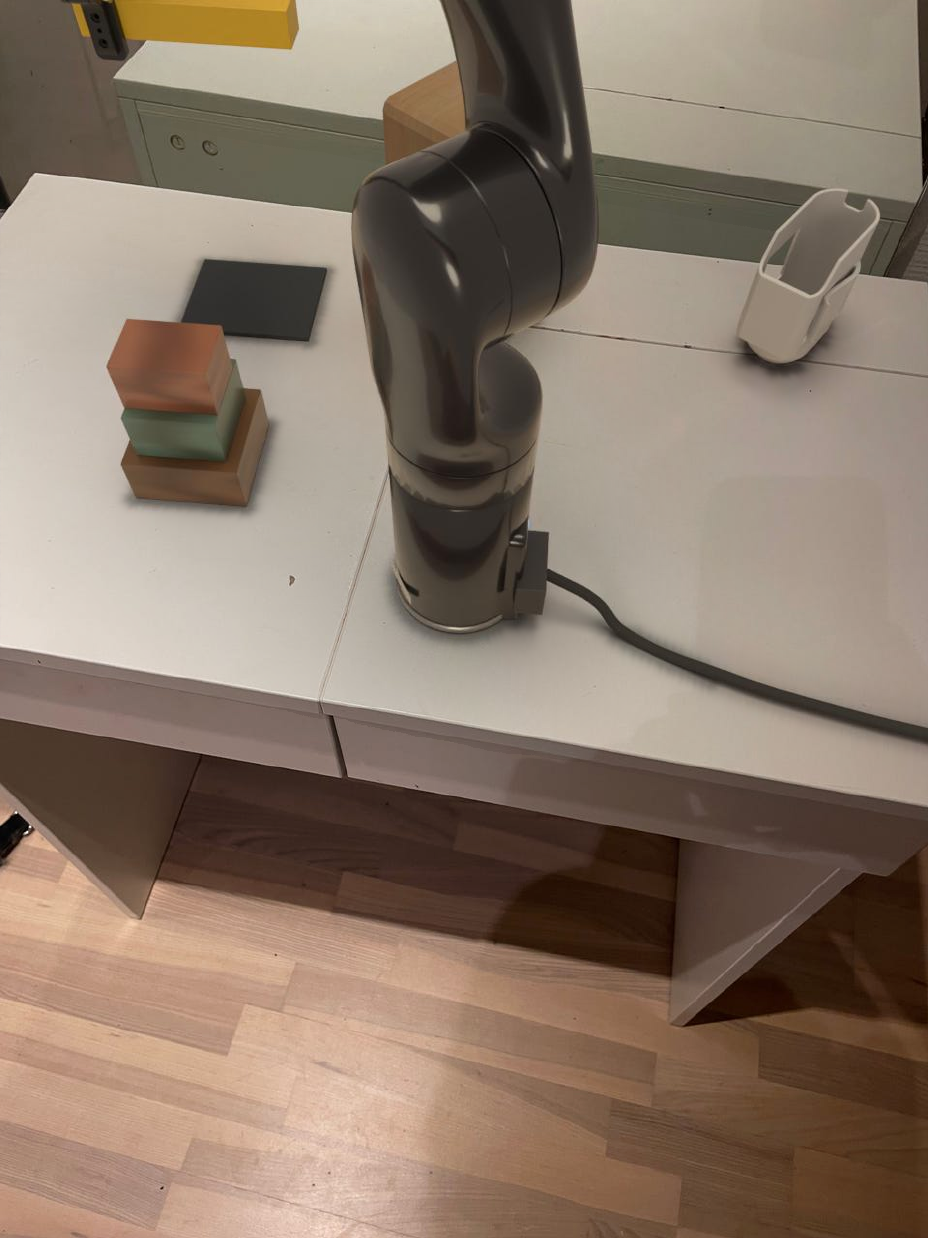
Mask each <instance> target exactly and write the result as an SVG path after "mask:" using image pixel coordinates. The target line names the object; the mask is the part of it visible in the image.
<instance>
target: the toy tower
mask: <svg viewBox="0 0 928 1238" xmlns="http://www.w3.org/2000/svg"><path fill="white" fill-rule="evenodd" d="M105 367H106V369H107V372H108V374H109V377H110V379H111V381H112V383H113V386H114V389H115V390H116V392H117V395H118V397H119V399H120V402H121V404H122V407H123V411H122V414H121V416H120V420H121V422H122V425H123V427H124V429H125V431H126V434H127V436H128V438H129V441H128V442H127V445H126V448H125V451H124V454H123V456H122V459H121V461H120V467H121V469H122V471H123V473H124V476H125V477H126V480H127V482H128V484H129V486H130V488H131V490H132V492H133V495H134V497H135V498H137V499H149V500H150V499H151V500H161V501H173V502H174V501H175V502H185V503H199V504H212V505H213V504H214V505H222V506H223V505H225V506H237V507H247V506H248V503H249V500H250V496H251V492H252V488H253V484H254V481H255V477H256V474H257V470H258V466H259V462H260V459H261V455H262V451H263V448H264V444H265V441H266V437H267V434H268V433H267V432H268V430H269V427H270V422H269V418H268V413H267V409H266V405H265V401H264V397H263V392H262V390H261V388H260V389H259V388H248V387H247V388H246V387H244V385H243V381H242V378H241V374H240V370H239V366H238V362H237V359H236V358H231V356H230V352H229V348H228V344H227V341H226V338H225V335H224V333H223V330H222V326H220V325H206V324H192V323H181V322H178V321H165V320H164V321H163V320H151V319H138V318H137V319H136V318H126V320H125V321H124V323H123V325H122V328H121V330H120V333H119V335H118V337H117V340H116V342H115V345H114V347H113V349H112V352H111V354H110V357H109V359H108V361H107V364H106V366H105Z"/></svg>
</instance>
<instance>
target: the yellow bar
mask: <svg viewBox="0 0 928 1238" xmlns="http://www.w3.org/2000/svg"><path fill="white" fill-rule="evenodd" d="M115 3H116V7H117V10H118V14H119V17H120V21H121V24H122V28H123V31H124V35H125V38H126V40H136V41H147V42H148V41H150V42H163V43H166V42H167V43H182V44H196V45H198V44H199V45H211V46H214V45H215V46H226V47H227V46H229V47H243V48H244V47H245V48H259V49H260V48H261V49H274V50H275V49H276V50H292V49H293V46H294V43H295V41H296V39H297V35H298V33H299V30H300V25H299V15H298V8H297V2H296V0H115ZM71 5H72V9H73V11H74V15H75V18H76V21H77V25H78V28H79V31H80V34H81V36H82V37H89V38H91V36H90V33H89V30H88V26H87V23H86V20H85V17H84V14H83V11H82V8H81V5H80V4H72V3H71Z"/></svg>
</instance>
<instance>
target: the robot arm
mask: <svg viewBox="0 0 928 1238" xmlns="http://www.w3.org/2000/svg"><path fill="white" fill-rule="evenodd" d="M438 1H439V4H440V6H441V9H442V12H443V15H444V18H445V22H446V24H447V29H448V33H449V35H450V40H451V43H452V49H453V51H454V56H455V61H457V66H458V71H459V76H460V82H461V87H462V94H463V103H464V111H465V132H463V133H461V134H458V135H456V136H454V137H451V138H449V139H447V140H444V141H442V142H439V143H437V144H435V145H432V146H430V147H428V148H425V149H423V150H420V151H418V152H416V153H413V154H412V155H409V156H407V157H404V158H402V159H400V160H397V161H395V162H392V163H390V164H388V165H386V164H385V165H383V166H382V167H379V168H378V169H376V170H374V171H373V172H371V173H370V174H368V175H366V177H365V178H364V180H362V181H361V183H360V185H359V187H358V189H357V190H356V191H357V192H356V194H355V197H354V199H353V204H352V205H353V206H352V210H351V220H350V221H351V222H350V231H351V232H350V234H351V248H352V256H353V257H352V258H353V263H354V271H355V276H356V282H357V289H358V293H359V301H360V305H361V312H362V317H363V324H364V330H365V337H366V346H367V352H368V358H369V364H370V370H371V374H372V377H373V381H374V385H375V387H376V390H377V394H378V397H379V400H380V404H381V407H382V411H383V419H384V420H383V421H384V428H385V430H384V431H385V441H386V452H387V454H386V455H387V464H388V465H387V467H388V475H389V476H388V477H389V478H388V479H389V491H390V503H391V505H390V506H391V512H392V513H391V515H392V528H393V543H394V552H395V553H394V554H395V564H394V562H393V561H392V558H390V557H389V559H390V567H391V569H392V572H393V574H394V575H395V578H396V581H395V582H396V588H397V593H398V597H399V599H400V601H401V602H402V605H403V606H404V607H405V609H406V610H407V611H408V612H409V614H411V616H412V617H414V618H415V619H416V620H417V621H418V622H421V623H423V625H425V626H427V627H429V628H432V629H435V630H437V631H441V632H446V633H454V634H466V633H473V632H478V631H481V630H484V629H486V628H490V627H491V626H493V625H495V624H497V623H498V622H500V621H501V620H516V619H517V618H518V614H526V615H539V616H542V615H543V613H544V606H545V601H546V595H547V588H548V587H547V585H548V582H549V583H550V584H552V585H555V586H557V587H559V588H560V589H562V590H565V591H567V592H569V593H571V594H573V595H575V596H576V597H579V598H580V599H582V600H583V601H585V602H587V603H588V604H589V605H590V606H592V607H593V608H595V610H596V611H598V613H599V614H600V615H601V617H602V618H603V619H604V621H605V623H606V624H607V625H608V627H609V628H610V629H611V630H612V631H613V632H614V633H615V634H617V635H618V636H620V637H621V638H623V639H624V640H625V641H627V642H629V643H630V644H631V645H633V646H635V647H637V648H638V649H640V650H642V651H645V652H646V653H648V654H650V655H653V656H654V657H657V658H659V659H661V660H663V661H665V662H668V663H671V664H673V665H676V666H679V667H682V668H684V669H686V670H690V671H693V672H695V673H699V674H701V675H704V676H707V677H709V678H712V679H715V680H718V681H720V682H723V683H725V684H728V685H731V686H734V687H736V688H739V689H742V690H745V691H748V692H751V693H754V694H757V695H760V696H762V697H766V698H769V699H772V700H775V701H779V702H782V703H786V704H789V705H792V706H796V707H799V708H803V709H806V710H810V711H813V712H817V713H820V714H823V715H824V714H825V715H828V716H831V717H834V718H839V719H843V720H846V721H849V722H853V723H857V724H861V725H864V726H869V727H873V728H876V729H881V730H884V731H888V732H892V733H897V734H901V735H905V736H909V737H913V738H918V739H921V740H927V741H928V727H926V726H922V725H918V724H913V723H910V722H904V721H901V720H897V719H896V720H895V719H892V718H887V717H884V716H880V715H876V714H872V713H868V712H864V711H860V710H857V709H853V708H849V707H845V706H842V705H839V704H835V703H832V702H827V701H824V700H821V699H816V698H813V697H809V696H806V695H802V694H799V693H795V692H792V691H788V690H785V689H781V688H778V687H775V686H771V685H769V684H765V683H764V682H759V681H756V680H754V679H751V678H748V677H745V676H742V675H739V674H736V673H735V672H734V673H733V672H731V671H728V670H725V669H724V668H720V667H717V666H714V665H712V664H709V663H706V662H704V661H700V660H697V659H695V658H692V657H689V656H686V655H683V654H681V653H678V652H676V651H673V650H670V649H669V648H665V647H663V646H661V645H659V644H657V643H655V642H653V641H652V640H651V641H650V640H649V639H647V638H645V637H643V636H642V635H640V634H639V633H637V632H635V631H634V630H632V629H631V628H629V627H628V626H627V625H625V624H624V623H622V622H621V621H620V620H619V618H618V617H617V616H616V615H615V613H614V612H613V611H612V609H611V608H610V606H609V604H608V603H607V602H606V601H605V600H604V599H603V598H602V597H600V596H599V595H598V594H597V593H595V592H593V591H592V590H591V589H589V588H587V587H586V586H584V585H582V584H581V583H579V582H577V581H575V580H572V579H570V578H568V577H566V576H564V575H562V574H560V573H558V572H556V571H554V570H552V569H550V568H548V565H549V564H548V562H549V541H550V540H549V538H550V532H549V531H540V530H529V525H530V519H529V518H530V504H531V497H532V490H533V482H534V474H535V467H536V460H537V451H538V443H539V436H540V429H541V421H542V415H543V405H544V393H543V387H542V382H541V380H540V376H539V375H538V372H537V370H536V369H535V367H534V365H533V364H532V363H531V362H530V361H529V359H528V358H527V357H525V356H524V354H523V353H521V352H520V351H519V350H517V349H516V348H515V347H513V346H511V345H510V344H508V343H506V342H504V341H505V340H508V339H510V338H511V337H513V336H515V335H516V334H519V333H520V332H522V331H525V330H526V329H528V328H530V327H532V326H534V325H536V324H537V323H539V322H541V321H543V320H545V319H547V318H548V317H550V316H552V315H554V314H556V313H557V312H558V311H561V310H562V309H563V308H565V307H567V306H568V305H569V304H571V303H572V302H573V301H574V300H575V299H576V298H577V297H579V296H580V295H581V293H583V291H584V290H585V288H586V287H587V285H588V283H589V281H590V279H591V278H592V274H593V272H594V268H595V264H596V261H597V255H598V246H599V234H600V232H599V231H600V227H599V226H600V223H599V222H600V221H599V219H600V218H599V217H600V216H599V215H600V214H599V200H598V190H597V177H596V171H595V163H594V157H593V156H594V155H593V149H592V140H591V133H590V132H591V131H590V127H589V126H590V125H589V118H588V111H587V105H586V97H585V90H584V83H583V76H582V69H581V61H580V55H579V47H578V40H577V32H576V24H575V18H574V17H575V16H574V11H573V9H574V8H573V1H572V0H438ZM60 2H61V3H62V4H71V5H72V4H80V5H81V8H82V11H83V14H84V17H85V20H86V23H87V26H88V30H89V33H90V36H91V37H90V40H91V43H92V45H93V48H94V51H95V54H96V56H97V57H98V58H99V59H101V60H103V61H118V62H124V61H125V60H126V59H127V58H128V55H129V54H130V48H129V45H128V41H127V39H126V38H125V35H124V31H123V28H122V24H121V21H120V17H119V14H118V10H117V7H116V3H115V0H60Z"/></svg>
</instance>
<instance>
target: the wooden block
mask: <svg viewBox="0 0 928 1238" xmlns="http://www.w3.org/2000/svg"><path fill="white" fill-rule="evenodd" d="M382 125H383V126H382V127H383V141H384V158H385V159H384V160H385V166H386V165H388V164H390V163H392V162H395V161H397V160H400V159H402V158H404V157H407V156H409V155H412V154H413V153H416V152H418V151H420V150H423V149H425V148H428V147H430V146H432V145H435V144H437V143H439V142H442V141H444V140H447V139H449V138H451V137H454V136H456V135H458V134H461V133H463V132H465V111H464V103H463V94H462V87H461V82H460V76H459V71H458V66H457V61H456V60H453V61H452V62H450V63H449V64H447V65H445V66H443V67H441V68H439V69H437V70H435V71H433V72H431V73H430V74H428V75H425V76H424V77H422V78H420V79H419V80H417V81H415V82H413V83H411V84H409V85H408V86H406V87H404V88H401V89H400V90H398V91H396V92H395V93H393V94H390V95H389V96H388V97H387V98H386V100H384V102H383V106H382Z"/></svg>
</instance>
